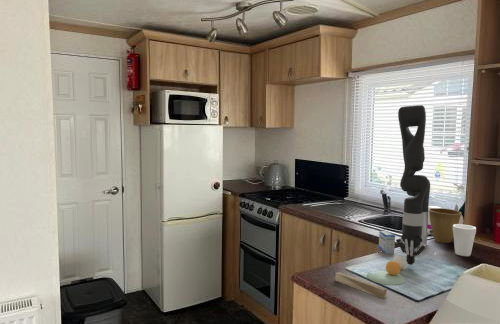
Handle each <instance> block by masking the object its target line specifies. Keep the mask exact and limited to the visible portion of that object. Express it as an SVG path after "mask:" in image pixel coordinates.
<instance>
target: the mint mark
mask: <svg viewBox="0 0 500 324" xmlns="http://www.w3.org/2000/svg"><path fill="white" fill-rule="evenodd" d="M374 271H375V272H377V273H375V274H373V273H370V272H371V271H370V272H367V274H366V277H367V279H369V280H370V281H372V282H374V283H377V284H381V285H386V286H398V285H403V284H404V283H406V278H405V277H404V276H403V275H401V274H400V273H399V274H397V275H390V274H389V273H388V272H387V271H386V270H374Z"/></svg>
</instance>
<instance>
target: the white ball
mask: <svg viewBox="0 0 500 324" xmlns="http://www.w3.org/2000/svg"><path fill="white" fill-rule="evenodd" d="M392 261H395V262H397V263H398V264H399V265H400V268H401V270H404V269H406V268H407V266H408V264H407V258H406V257H404V256H402V255H397V256H394V257H393V260H392ZM401 270H400V271H401Z"/></svg>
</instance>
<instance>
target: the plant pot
mask: <svg viewBox="0 0 500 324" xmlns="http://www.w3.org/2000/svg"><path fill="white" fill-rule="evenodd" d="M429 215H430V223H431V228H432V232H433V235H432V236H433V238H434V241H435V242H437V243H442V244H450V243H452V240H454V235H453V225H454V224H460V220H461V217H462V212H461V211H458V210H455V209H450V208H442V207H441V208H431V209H429Z"/></svg>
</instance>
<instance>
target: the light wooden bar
mask: <svg viewBox="0 0 500 324" xmlns="http://www.w3.org/2000/svg"><path fill="white" fill-rule="evenodd" d="M335 282H338V283H341V284H343V285H346V286H349V287H351V288H354V289H357V290H358V291H360V292H361V291H362V292H364V293H366V294H369V295H372V296H373V297H377V298H380V299H382V300H384V299H386V298H387V291H388V290H387V288H385V287H382V286H380V285H377V284H375V283H371V282H368V281H366V280H363V279H361V278H357V277H354V276H352V275H349V274H346V273H344V272H341V271H338V272H335Z"/></svg>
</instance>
